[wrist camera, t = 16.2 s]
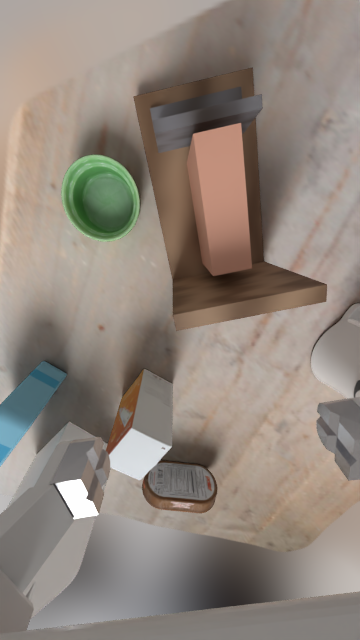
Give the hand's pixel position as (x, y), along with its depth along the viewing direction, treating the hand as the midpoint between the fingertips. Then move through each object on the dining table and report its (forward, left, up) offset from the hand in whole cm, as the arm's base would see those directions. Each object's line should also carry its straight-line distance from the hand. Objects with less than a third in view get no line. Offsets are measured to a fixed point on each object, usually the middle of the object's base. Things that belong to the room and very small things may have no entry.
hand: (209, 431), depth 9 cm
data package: (+28, +14, -28) cm, 42 cm away
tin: (+8, +40, -28) cm, 50 cm away
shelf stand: (-5, -8, -28) cm, 29 cm away
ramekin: (+7, -12, -28) cm, 31 cm away
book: (-5, -8, -26) cm, 27 cm away
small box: (+10, +19, -28) cm, 35 cm away
